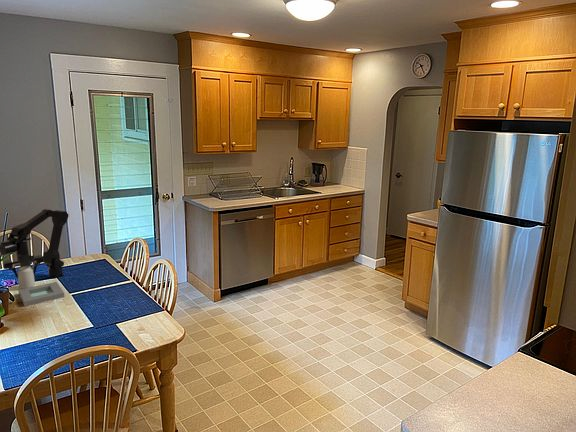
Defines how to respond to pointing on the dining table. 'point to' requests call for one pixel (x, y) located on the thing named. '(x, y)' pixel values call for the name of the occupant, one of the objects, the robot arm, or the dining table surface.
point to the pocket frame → (41, 293)
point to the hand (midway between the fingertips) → (25, 276)
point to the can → (25, 277)
